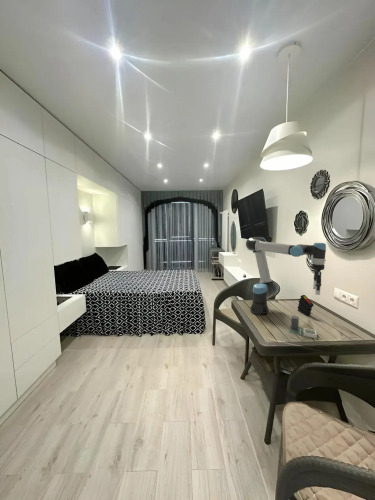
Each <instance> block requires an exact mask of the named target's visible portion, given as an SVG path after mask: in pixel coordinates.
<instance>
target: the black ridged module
mask: <svg viewBox="0 0 375 500" xmlns="http://www.w3.org/2000/svg"><path fill="white" fill-rule="evenodd" d="M313 307H314V303H313V302H312V301H311V300H310V299H309V298H308V296H306V295H305V294H302V295H300V298H299V300H298V306H297V312H299V313H301V314H303V315H304V316H308V317H309V316H311V315H312V313H311V312H312V311H313V310H312V308H313Z"/></svg>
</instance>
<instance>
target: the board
mask: <svg viewBox="0 0 375 500" xmlns="http://www.w3.org/2000/svg"><path fill="white" fill-rule="evenodd" d="M288 332H289V334H294V335H296V336H297V335H298V336H302V337H307V338H311V339H316V340H318V333H317V330H316V329H312V328H307V327H300V326H298V331H297V330H293V329H291V324H290V325H289V329H288Z"/></svg>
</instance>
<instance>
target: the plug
mask: <svg viewBox="0 0 375 500" xmlns="http://www.w3.org/2000/svg"><path fill="white" fill-rule="evenodd" d="M290 322H291V323H290V325H291V329H293V330H297V331H298V327H300V325H299V322H300V319H299V316H295V315H292V316H291V321H290Z"/></svg>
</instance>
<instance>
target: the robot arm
mask: <svg viewBox="0 0 375 500" xmlns="http://www.w3.org/2000/svg"><path fill="white" fill-rule="evenodd" d="M245 246H246V248H247V249H248V250H249V251H252V253H253V254H254V255H255V261H256V265H257V269H258V274H259V278H260V279H259V283H255V284H253V287H252V303H251V304H250V305H251V306H250V307H249V308H250V309H249V311H250V312H251V314H254V315H258V316H267V315H268V314H269V313H270V309H269V306H268V298H271V297H272V296H274V295H275V294H276V293H277V291H278V288H277V284H276V283H275V282H274V280H273V279H272V278H271V273H270V269H269V264H268V261H267V256H266V252H269V253H276V254H283V255H288V256H292V257H295V258H299V257H301V256H305V255H306V256H312V263H311V264H312V265H311V268H312V269H313V270H314V273H313V288H312V289H313V290H315V293H314V294H315V295H317V296H320V295H321V286H322V272H321V271H324V270H325V263H326V251H327V244H326V243H324V242H314V243H313V244H301V243H300V244H296V245H294V244H286V243H285V244H284V243H279V242H278V243H277V242H276V243H275V242H269V241H267V239H266V238H265V237H263V236H253V237H249V238H248V239H247V240H246V241H245Z"/></svg>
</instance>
